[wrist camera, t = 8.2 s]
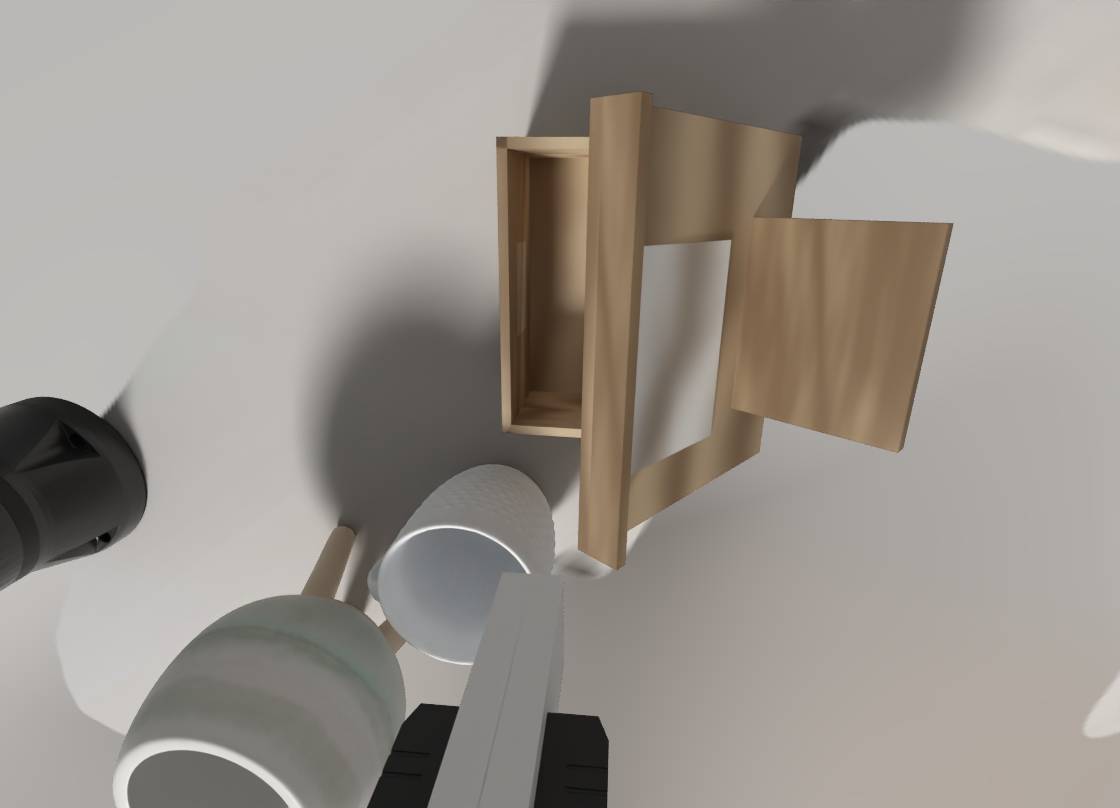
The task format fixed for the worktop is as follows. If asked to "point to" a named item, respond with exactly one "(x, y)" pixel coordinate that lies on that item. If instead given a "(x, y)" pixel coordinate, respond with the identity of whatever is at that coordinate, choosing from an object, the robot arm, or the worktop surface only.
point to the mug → (462, 558)
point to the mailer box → (542, 282)
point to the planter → (271, 706)
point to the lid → (729, 312)
